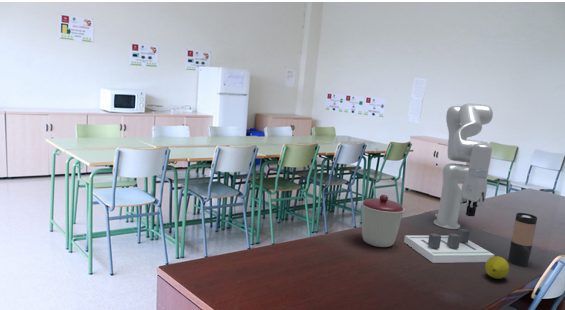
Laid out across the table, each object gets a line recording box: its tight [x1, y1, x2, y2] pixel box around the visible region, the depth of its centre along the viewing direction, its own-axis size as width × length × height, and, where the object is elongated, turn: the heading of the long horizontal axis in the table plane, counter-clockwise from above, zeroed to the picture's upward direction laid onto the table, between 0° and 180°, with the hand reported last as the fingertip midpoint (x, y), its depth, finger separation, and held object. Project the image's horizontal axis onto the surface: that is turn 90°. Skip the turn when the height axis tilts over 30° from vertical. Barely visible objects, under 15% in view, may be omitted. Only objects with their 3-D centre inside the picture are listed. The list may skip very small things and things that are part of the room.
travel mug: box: [507, 212, 538, 267], centre depth 183 cm, size 8×8×20 cm
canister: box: [360, 194, 406, 248], centre depth 190 cm, size 18×18×21 cm
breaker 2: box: [447, 233, 461, 248], centre depth 185 cm, size 3×4×5 cm
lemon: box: [484, 255, 510, 280], centre depth 165 cm, size 11×8×8 cm
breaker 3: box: [457, 228, 471, 243], centre depth 193 cm, size 3×4×5 cm
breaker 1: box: [428, 233, 442, 248], centre depth 183 cm, size 3×4×5 cm
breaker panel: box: [403, 235, 496, 264], centre depth 189 cm, size 22×28×3 cm
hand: (470, 215), depth 190 cm, fingers closed
